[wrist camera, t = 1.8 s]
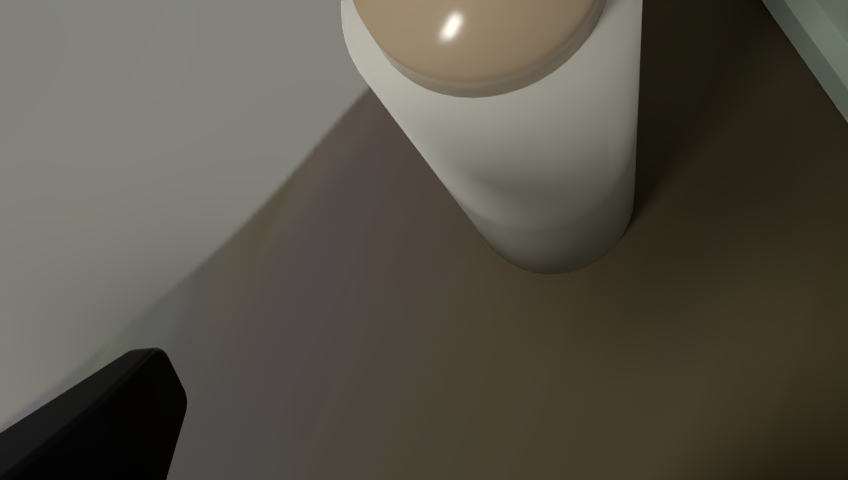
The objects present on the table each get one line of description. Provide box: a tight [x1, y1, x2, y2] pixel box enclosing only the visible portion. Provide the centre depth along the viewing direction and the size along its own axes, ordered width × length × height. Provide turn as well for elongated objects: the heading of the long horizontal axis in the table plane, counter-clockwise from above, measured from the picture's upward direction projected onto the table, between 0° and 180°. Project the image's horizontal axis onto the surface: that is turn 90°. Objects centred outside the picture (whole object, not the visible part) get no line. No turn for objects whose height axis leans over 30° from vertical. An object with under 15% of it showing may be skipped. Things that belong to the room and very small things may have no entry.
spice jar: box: [341, 0, 643, 274], centre depth 17 cm, size 5×5×13 cm
